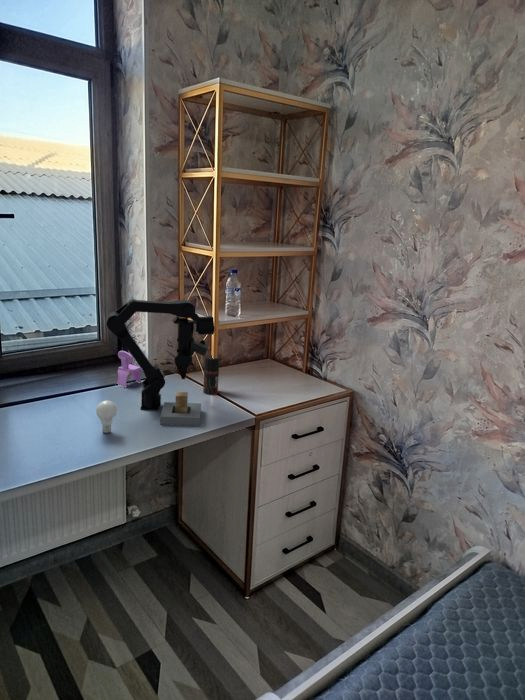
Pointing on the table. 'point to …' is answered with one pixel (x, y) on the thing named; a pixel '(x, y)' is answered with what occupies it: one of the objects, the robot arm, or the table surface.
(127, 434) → the table surface
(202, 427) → the table surface
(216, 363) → the deodorant
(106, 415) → the lightbulb
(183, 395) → the peg
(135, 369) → the toy chair
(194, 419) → the socket block
